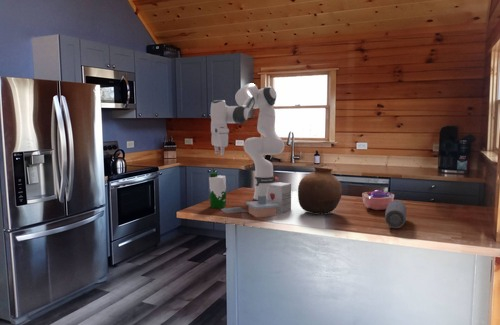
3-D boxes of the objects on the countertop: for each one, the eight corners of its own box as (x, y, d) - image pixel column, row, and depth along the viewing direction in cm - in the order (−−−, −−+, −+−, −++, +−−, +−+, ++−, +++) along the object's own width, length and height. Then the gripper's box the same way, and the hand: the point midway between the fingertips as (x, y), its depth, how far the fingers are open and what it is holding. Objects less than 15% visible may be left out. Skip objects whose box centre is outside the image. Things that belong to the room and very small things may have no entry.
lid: (246, 204, 205) (246, 194, 204) (268, 201, 210) (268, 192, 209) (255, 209, 193) (255, 199, 192) (278, 206, 198) (278, 196, 197)
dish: (267, 211, 209) (267, 202, 208) (276, 216, 199) (276, 206, 198) (248, 213, 205) (248, 204, 204) (256, 218, 195) (256, 208, 194)
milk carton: (213, 205, 226) (212, 171, 224) (227, 205, 224) (227, 172, 222) (208, 208, 218) (207, 174, 215) (223, 209, 216) (222, 174, 214)
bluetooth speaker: (386, 217, 192) (386, 198, 191) (406, 219, 189) (407, 199, 188) (383, 229, 172) (384, 208, 170) (405, 231, 168) (406, 209, 167)
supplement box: (268, 210, 211) (268, 183, 209) (278, 207, 218) (278, 181, 216) (281, 213, 205) (281, 185, 203) (291, 210, 211) (291, 183, 210)
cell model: (395, 206, 216) (396, 186, 215) (392, 214, 198) (393, 193, 197) (364, 204, 223) (364, 185, 222) (359, 211, 205) (359, 191, 204)
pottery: (293, 216, 197) (293, 168, 194) (303, 207, 218) (303, 163, 215) (338, 220, 188) (338, 170, 185) (344, 210, 210) (345, 164, 207)
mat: (239, 207, 219) (239, 206, 219) (247, 212, 208) (247, 211, 208) (219, 209, 215) (219, 208, 215) (226, 214, 204) (226, 213, 204)
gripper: (208, 129, 220) (209, 153, 221) (218, 129, 201) (219, 156, 202) (218, 129, 222) (219, 152, 224) (230, 129, 203) (230, 155, 205)
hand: (219, 154), depth 213 cm, fingers open, 8 cm apart
